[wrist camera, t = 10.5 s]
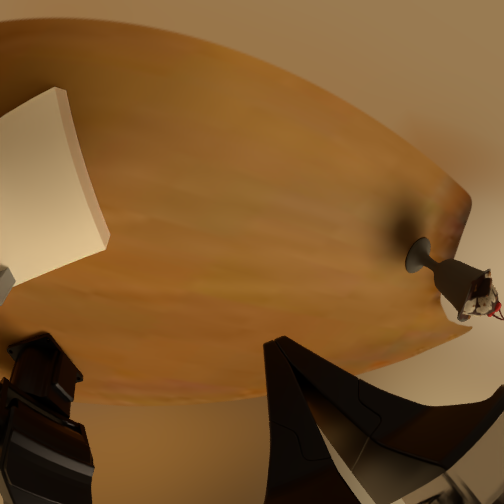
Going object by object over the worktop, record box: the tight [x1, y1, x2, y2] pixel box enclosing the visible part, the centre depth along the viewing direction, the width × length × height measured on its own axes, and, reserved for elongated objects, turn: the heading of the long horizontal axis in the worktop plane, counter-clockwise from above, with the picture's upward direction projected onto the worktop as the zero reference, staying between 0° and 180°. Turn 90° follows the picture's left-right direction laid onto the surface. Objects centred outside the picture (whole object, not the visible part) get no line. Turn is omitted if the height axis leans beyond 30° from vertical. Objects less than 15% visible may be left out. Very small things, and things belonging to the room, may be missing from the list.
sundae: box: [406, 238, 504, 322], centre depth 25 cm, size 7×7×15 cm
